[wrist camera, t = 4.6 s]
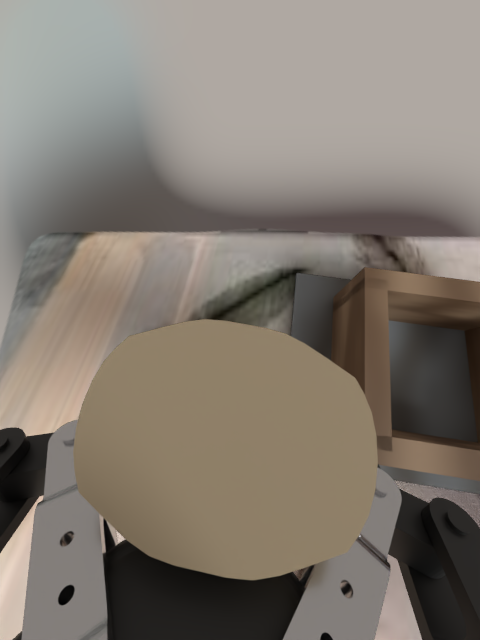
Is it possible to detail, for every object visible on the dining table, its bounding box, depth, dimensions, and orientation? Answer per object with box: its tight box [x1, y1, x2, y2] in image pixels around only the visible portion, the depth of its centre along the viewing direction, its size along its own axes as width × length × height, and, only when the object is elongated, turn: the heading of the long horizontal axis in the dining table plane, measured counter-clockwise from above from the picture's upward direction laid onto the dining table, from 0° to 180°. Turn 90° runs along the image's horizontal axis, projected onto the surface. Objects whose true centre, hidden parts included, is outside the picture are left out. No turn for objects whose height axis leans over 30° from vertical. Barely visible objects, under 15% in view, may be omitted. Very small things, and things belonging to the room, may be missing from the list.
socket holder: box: [291, 267, 480, 494], centre depth 17 cm, size 20×16×6 cm
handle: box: [73, 319, 378, 580], centre depth 12 cm, size 5×6×15 cm
